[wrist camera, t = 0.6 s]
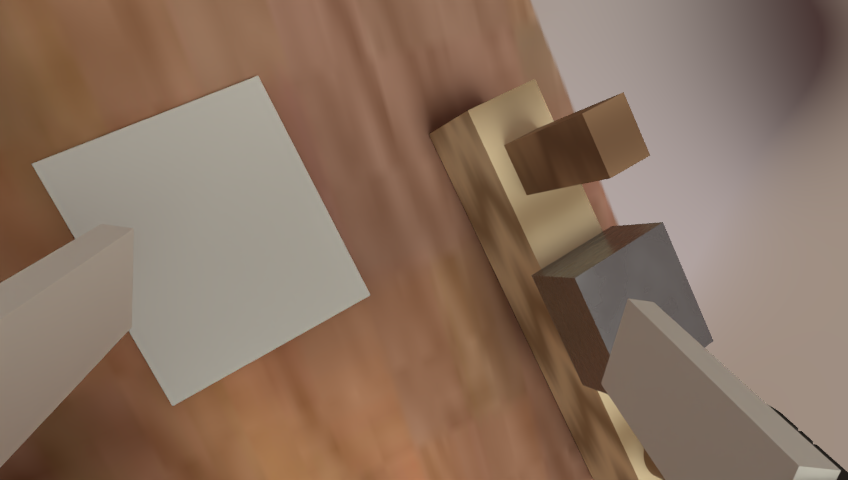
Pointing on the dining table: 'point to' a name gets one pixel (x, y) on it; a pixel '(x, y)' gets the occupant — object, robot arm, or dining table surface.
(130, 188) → the mat
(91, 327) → the robot arm
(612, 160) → the wooden peg base
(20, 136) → the dining table surface
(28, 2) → the dining table surface
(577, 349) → the lever cap
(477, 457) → the dining table surface
